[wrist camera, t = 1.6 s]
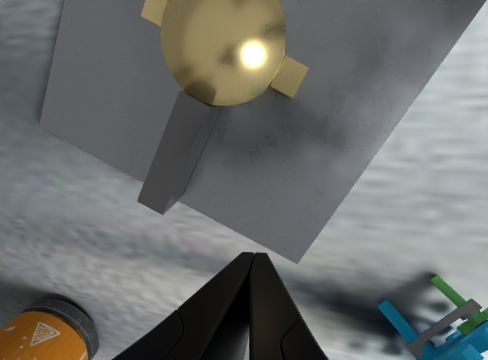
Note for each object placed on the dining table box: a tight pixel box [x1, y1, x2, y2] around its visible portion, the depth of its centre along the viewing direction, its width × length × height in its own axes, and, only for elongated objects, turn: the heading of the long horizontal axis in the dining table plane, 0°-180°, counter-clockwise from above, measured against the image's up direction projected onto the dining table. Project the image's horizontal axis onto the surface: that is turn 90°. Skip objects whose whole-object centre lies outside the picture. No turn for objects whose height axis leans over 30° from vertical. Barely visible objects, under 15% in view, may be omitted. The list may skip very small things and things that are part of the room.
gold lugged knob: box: [137, 0, 309, 215], centre depth 16 cm, size 16×10×3 cm, turn 153°
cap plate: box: [39, 0, 486, 264], centre depth 16 cm, size 24×24×4 cm
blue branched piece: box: [377, 275, 488, 360], centre depth 20 cm, size 11×6×10 cm
